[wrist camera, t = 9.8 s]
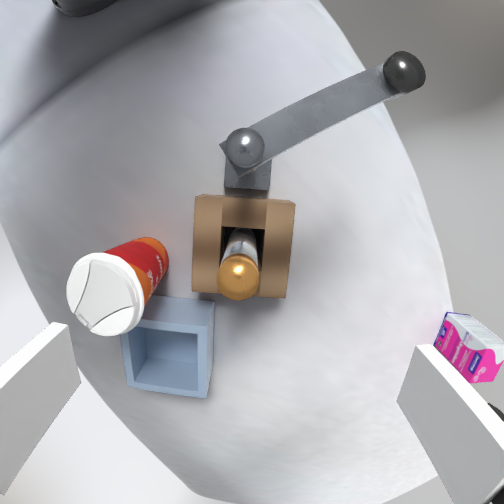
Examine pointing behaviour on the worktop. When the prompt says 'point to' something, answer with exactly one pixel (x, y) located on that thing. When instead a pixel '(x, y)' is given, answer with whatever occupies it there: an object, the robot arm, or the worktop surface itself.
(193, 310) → the blue open box
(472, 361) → the supplement box
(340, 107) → the grey tall angled piece
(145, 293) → the paper cup
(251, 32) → the worktop surface
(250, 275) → the pin
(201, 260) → the socket block
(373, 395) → the worktop surface
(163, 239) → the worktop surface
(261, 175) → the base
